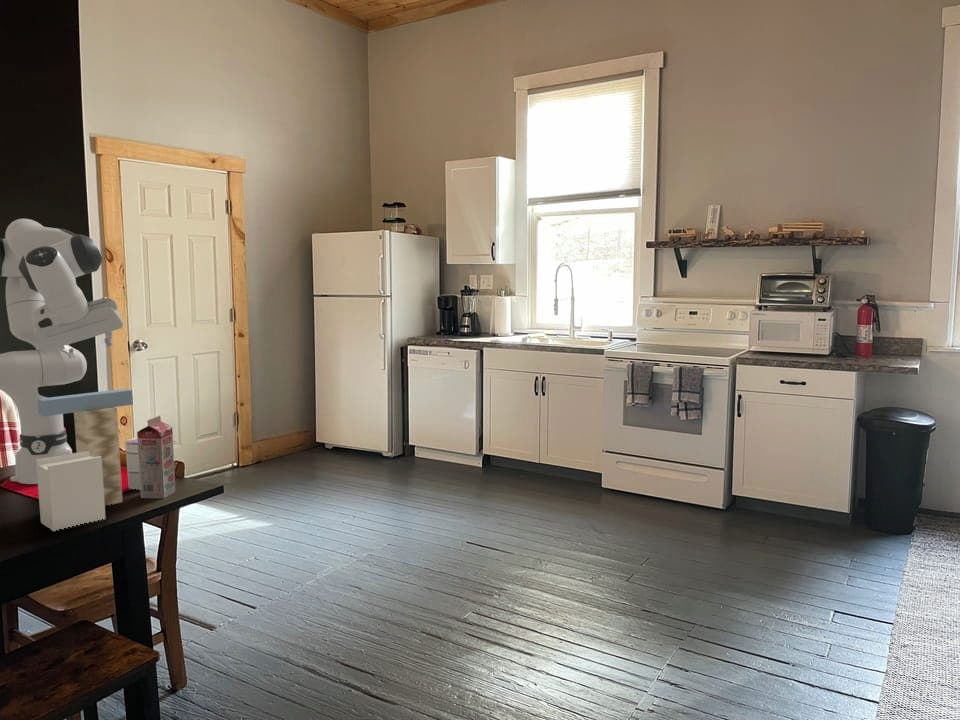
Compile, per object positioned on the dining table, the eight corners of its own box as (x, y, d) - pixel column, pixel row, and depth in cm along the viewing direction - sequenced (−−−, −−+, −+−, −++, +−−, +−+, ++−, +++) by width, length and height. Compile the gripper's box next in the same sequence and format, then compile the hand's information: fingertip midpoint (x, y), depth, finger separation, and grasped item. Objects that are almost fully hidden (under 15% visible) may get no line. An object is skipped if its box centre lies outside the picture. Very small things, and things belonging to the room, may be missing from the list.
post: (91, 509, 193) (85, 412, 189) (79, 502, 198) (73, 408, 195) (122, 502, 199) (116, 408, 195) (110, 495, 204) (105, 404, 201)
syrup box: (146, 490, 209) (143, 440, 207) (127, 489, 210) (124, 439, 208) (158, 484, 215) (155, 436, 213) (140, 483, 216) (137, 435, 214)
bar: (43, 416, 184) (42, 400, 184) (38, 414, 187) (37, 398, 186) (132, 404, 200) (132, 390, 200) (126, 402, 203) (125, 388, 202)
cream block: (53, 531, 176) (48, 466, 174) (40, 522, 182) (36, 459, 180) (105, 519, 185) (101, 456, 183) (91, 510, 191) (87, 450, 189)
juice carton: (140, 497, 202) (136, 420, 200) (152, 490, 209) (148, 415, 206) (164, 498, 202) (160, 420, 199) (175, 491, 209) (171, 415, 206)
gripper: (111, 289, 190) (130, 331, 199) (26, 314, 184) (50, 356, 193) (113, 301, 186) (133, 344, 194) (26, 327, 179) (51, 369, 188)
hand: (91, 350), depth 194 cm, fingers open, 8 cm apart
